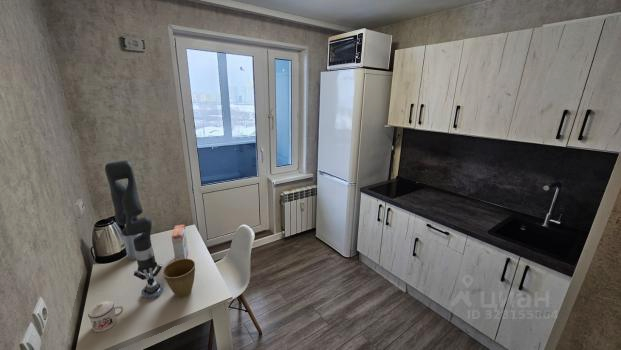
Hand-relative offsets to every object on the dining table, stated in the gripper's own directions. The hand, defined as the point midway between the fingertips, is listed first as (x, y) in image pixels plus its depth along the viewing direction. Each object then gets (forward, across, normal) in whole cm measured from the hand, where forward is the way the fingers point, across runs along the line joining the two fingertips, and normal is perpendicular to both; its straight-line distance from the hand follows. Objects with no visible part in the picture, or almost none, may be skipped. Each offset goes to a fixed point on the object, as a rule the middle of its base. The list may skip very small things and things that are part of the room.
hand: (151, 283), depth 132 cm
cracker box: (+6, -16, -25) cm, 30 cm away
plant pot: (+6, -14, +8) cm, 17 cm away
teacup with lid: (+6, +17, +12) cm, 22 cm away
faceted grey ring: (+6, 0, 0) cm, 6 cm away
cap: (+6, 0, 0) cm, 6 cm away
